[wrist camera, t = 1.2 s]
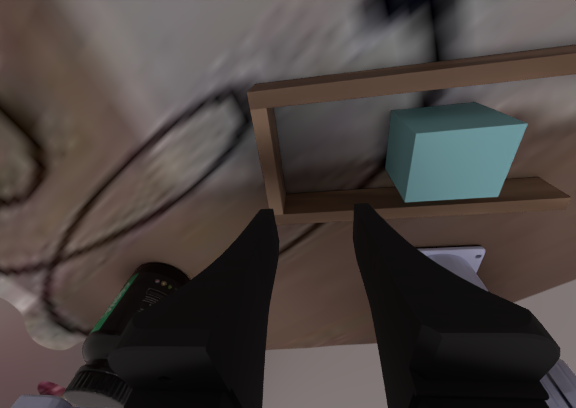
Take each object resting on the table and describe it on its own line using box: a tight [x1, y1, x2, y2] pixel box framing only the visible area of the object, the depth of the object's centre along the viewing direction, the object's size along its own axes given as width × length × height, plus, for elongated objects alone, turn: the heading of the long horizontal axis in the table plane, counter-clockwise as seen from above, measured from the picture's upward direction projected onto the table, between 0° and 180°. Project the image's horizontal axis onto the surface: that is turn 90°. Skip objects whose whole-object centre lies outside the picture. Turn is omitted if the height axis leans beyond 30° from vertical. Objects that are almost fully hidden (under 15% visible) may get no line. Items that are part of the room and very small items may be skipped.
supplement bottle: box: [64, 263, 189, 408], centre depth 25 cm, size 7×7×12 cm
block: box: [385, 102, 528, 202], centre depth 17 cm, size 4×6×5 cm
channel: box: [247, 45, 576, 225], centre depth 18 cm, size 10×21×3 cm, turn 97°
